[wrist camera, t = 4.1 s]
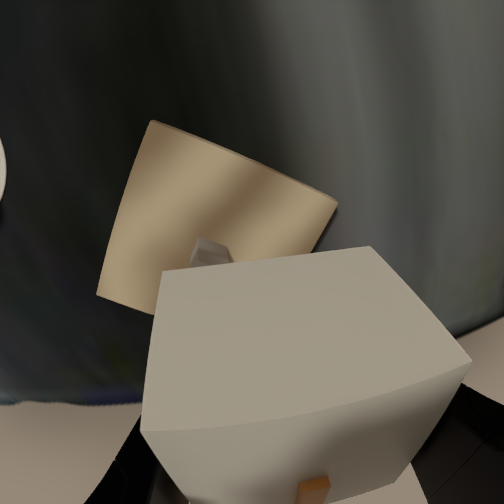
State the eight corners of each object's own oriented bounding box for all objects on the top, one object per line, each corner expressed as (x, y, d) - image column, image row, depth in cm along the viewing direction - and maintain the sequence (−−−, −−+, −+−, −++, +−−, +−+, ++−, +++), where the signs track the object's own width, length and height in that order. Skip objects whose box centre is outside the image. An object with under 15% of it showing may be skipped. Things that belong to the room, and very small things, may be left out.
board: (333, 197, 20) (358, 220, 17) (252, 336, 25) (259, 374, 21) (153, 119, 17) (138, 125, 13) (100, 286, 21) (83, 321, 18)
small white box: (369, 245, 9) (480, 371, 5) (347, 379, 12) (397, 489, 7) (162, 271, 9) (138, 446, 4) (198, 403, 11) (206, 530, 7)
